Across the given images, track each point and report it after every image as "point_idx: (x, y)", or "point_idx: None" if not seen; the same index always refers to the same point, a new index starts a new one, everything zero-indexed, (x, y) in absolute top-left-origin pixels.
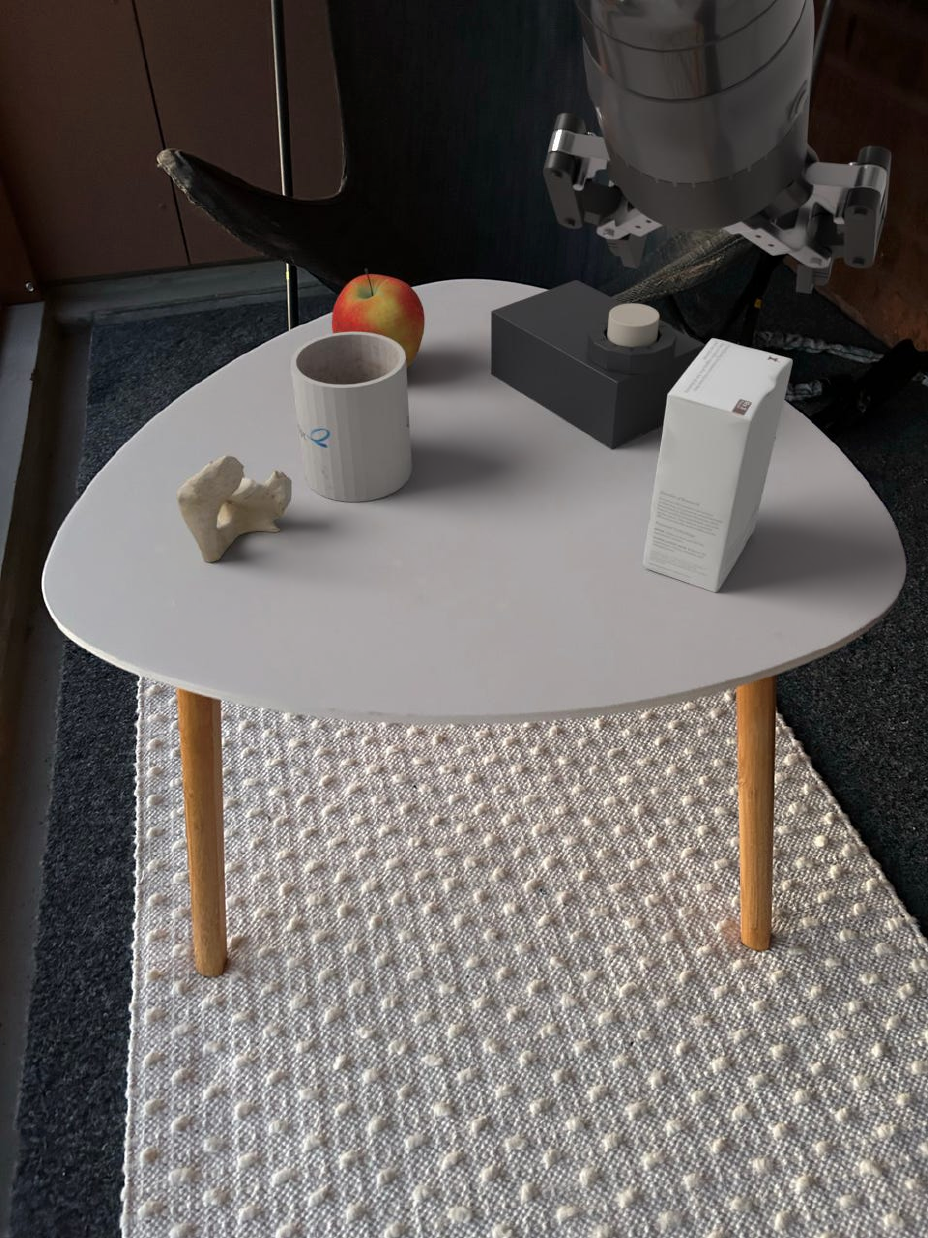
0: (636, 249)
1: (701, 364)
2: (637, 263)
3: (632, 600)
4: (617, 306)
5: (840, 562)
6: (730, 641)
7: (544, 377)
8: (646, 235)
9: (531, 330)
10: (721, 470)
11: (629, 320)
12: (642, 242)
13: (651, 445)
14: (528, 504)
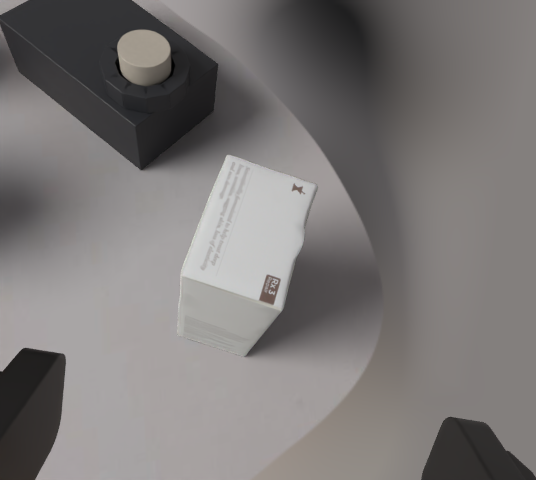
0: (27, 472)
1: (218, 209)
2: (49, 447)
3: (170, 382)
4: (126, 35)
5: (342, 296)
6: (260, 421)
7: (66, 94)
8: (64, 360)
9: (42, 47)
10: (247, 323)
11: (139, 58)
12: (52, 402)
13: (177, 161)
14: (63, 258)
